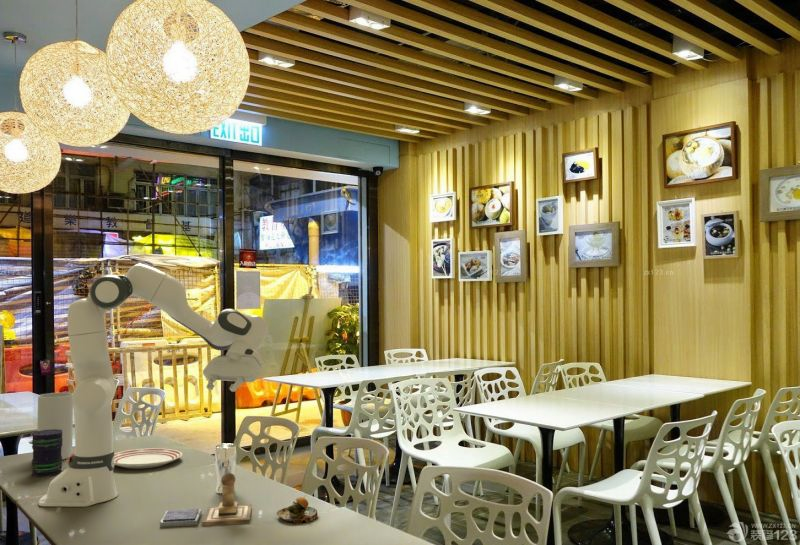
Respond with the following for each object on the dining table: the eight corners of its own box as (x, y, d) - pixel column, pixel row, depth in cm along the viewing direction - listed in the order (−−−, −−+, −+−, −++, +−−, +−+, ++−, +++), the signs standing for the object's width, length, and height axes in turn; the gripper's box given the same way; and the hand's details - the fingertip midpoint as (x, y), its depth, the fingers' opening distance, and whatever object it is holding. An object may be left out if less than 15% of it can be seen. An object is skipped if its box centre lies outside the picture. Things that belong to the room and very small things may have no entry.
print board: (202, 525, 188) (202, 521, 188) (207, 510, 200) (207, 506, 201) (249, 522, 190) (249, 518, 190) (251, 508, 203) (251, 504, 203)
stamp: (218, 516, 192) (218, 475, 193) (220, 510, 197) (220, 471, 198) (236, 515, 193) (236, 474, 194) (237, 509, 198) (237, 470, 198)
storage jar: (64, 468, 249) (64, 428, 249) (59, 475, 239) (60, 433, 240) (34, 471, 246) (35, 430, 246) (28, 478, 236) (29, 435, 237)
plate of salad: (281, 511, 201) (281, 486, 201) (320, 511, 200) (320, 486, 201) (272, 525, 189) (272, 498, 189) (313, 525, 188) (313, 499, 189)
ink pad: (159, 527, 186) (159, 520, 186) (166, 515, 196) (166, 509, 196) (196, 525, 188) (197, 518, 188) (201, 513, 198) (201, 507, 198)
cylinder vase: (66, 452, 274) (67, 391, 275) (76, 458, 265) (77, 395, 266) (33, 457, 266) (34, 394, 267) (41, 463, 257) (42, 398, 257)
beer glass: (230, 495, 216) (230, 448, 217) (210, 493, 218) (210, 447, 218) (239, 489, 223) (239, 443, 223) (220, 487, 224) (220, 442, 225)
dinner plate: (155, 451, 277) (155, 443, 277) (196, 461, 261) (196, 452, 261) (91, 465, 255) (91, 456, 255) (133, 476, 239) (133, 467, 239)
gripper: (211, 349, 227) (190, 381, 218) (260, 351, 219) (240, 385, 209) (220, 361, 231) (200, 393, 222) (268, 363, 223) (249, 397, 213)
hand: (220, 389), depth 216 cm, fingers open, 8 cm apart
